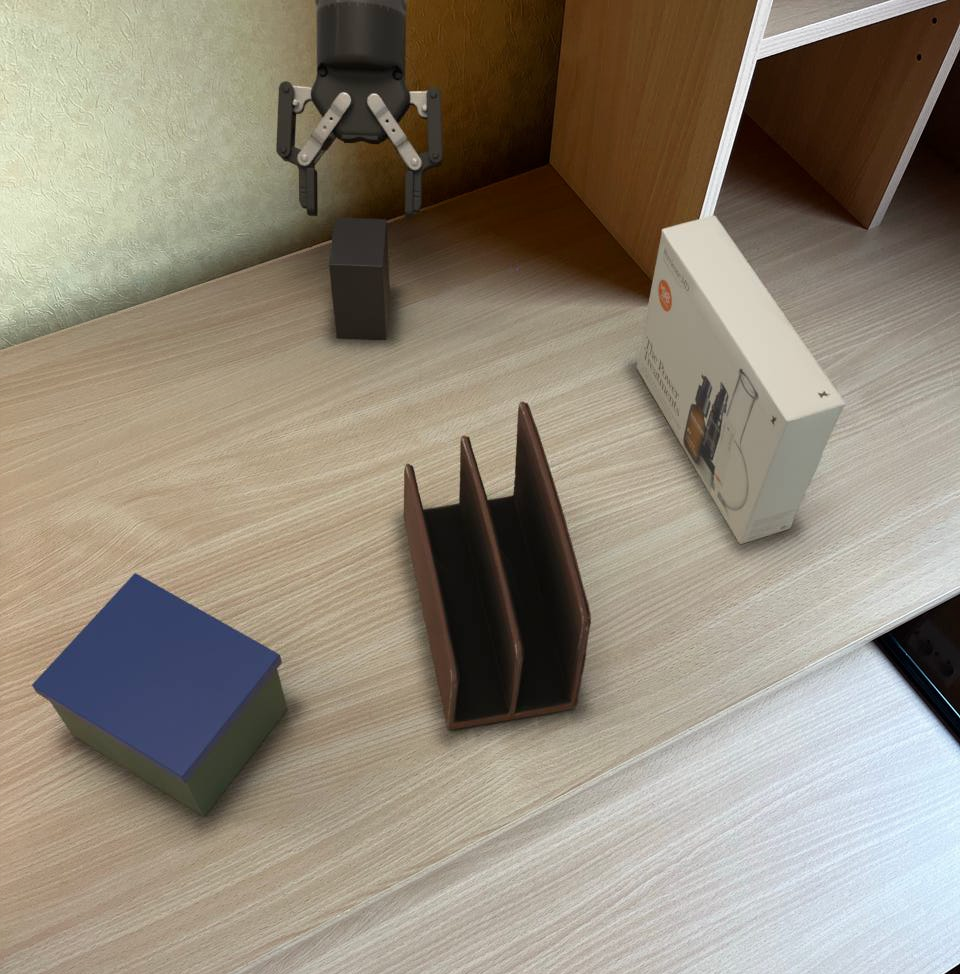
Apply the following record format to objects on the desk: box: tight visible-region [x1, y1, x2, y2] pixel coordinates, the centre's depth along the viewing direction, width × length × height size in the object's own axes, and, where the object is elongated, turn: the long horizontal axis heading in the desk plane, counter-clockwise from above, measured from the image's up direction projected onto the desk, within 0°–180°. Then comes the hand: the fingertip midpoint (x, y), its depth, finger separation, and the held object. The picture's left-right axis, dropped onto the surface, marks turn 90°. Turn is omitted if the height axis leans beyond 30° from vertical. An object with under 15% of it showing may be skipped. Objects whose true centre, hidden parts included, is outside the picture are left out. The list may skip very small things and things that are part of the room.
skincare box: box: [636, 214, 846, 545], centre depth 89 cm, size 21×6×16 cm, turn 21°
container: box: [31, 572, 288, 817], centre depth 77 cm, size 13×11×8 cm
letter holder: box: [402, 401, 592, 731], centre depth 80 cm, size 10×20×14 cm, turn 12°
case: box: [328, 217, 391, 341], centre depth 98 cm, size 5×6×8 cm
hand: (360, 216), depth 96 cm, fingers open, 8 cm apart
